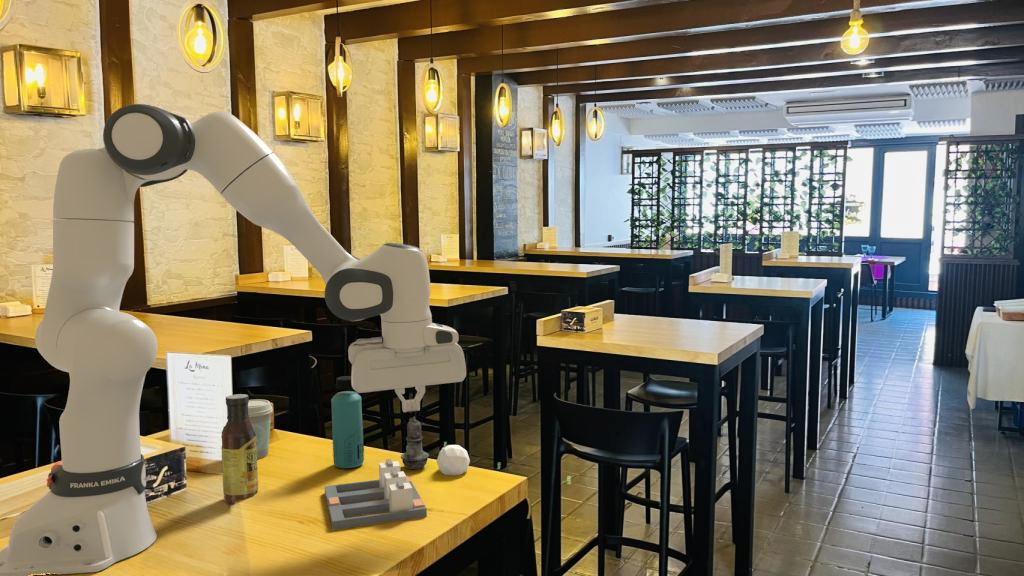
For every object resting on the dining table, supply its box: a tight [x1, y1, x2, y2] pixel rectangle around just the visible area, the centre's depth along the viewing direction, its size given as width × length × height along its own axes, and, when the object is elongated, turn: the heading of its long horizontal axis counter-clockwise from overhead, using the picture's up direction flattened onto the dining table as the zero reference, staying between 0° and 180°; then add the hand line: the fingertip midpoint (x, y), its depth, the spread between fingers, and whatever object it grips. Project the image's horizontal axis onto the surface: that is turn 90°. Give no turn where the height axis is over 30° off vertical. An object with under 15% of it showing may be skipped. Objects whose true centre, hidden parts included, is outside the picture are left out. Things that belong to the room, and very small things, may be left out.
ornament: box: [436, 444, 471, 476], centre depth 148 cm, size 6×7×7 cm
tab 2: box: [384, 469, 407, 500], centre depth 132 cm, size 4×3×6 cm
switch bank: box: [324, 475, 428, 531], centre depth 131 cm, size 16×17×3 cm
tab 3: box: [389, 480, 413, 512], centre depth 126 cm, size 4×3×6 cm
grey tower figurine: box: [400, 416, 430, 470], centre depth 150 cm, size 6×6×12 cm
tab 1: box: [378, 458, 401, 488], centre depth 138 cm, size 4×3×6 cm
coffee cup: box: [248, 398, 274, 460], centre depth 161 cm, size 8×8×12 cm
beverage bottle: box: [330, 375, 365, 469], centre depth 151 cm, size 6×7×20 cm
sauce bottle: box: [220, 393, 259, 505], centre depth 136 cm, size 6×6×20 cm
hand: (411, 410), depth 129 cm, fingers closed
